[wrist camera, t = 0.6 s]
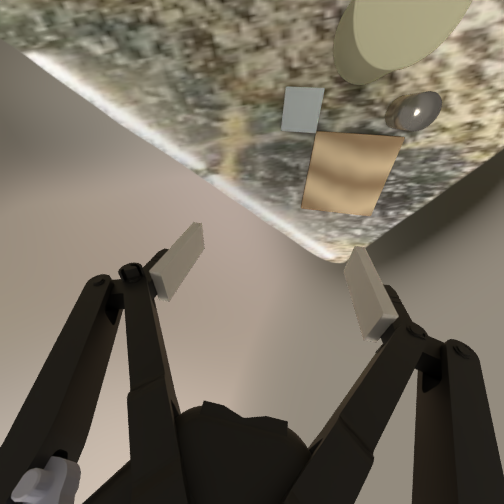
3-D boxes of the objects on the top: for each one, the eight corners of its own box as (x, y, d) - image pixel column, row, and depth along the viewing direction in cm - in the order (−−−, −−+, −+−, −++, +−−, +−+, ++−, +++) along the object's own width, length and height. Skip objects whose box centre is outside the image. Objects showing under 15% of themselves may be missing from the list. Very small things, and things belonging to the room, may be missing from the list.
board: (316, 130, 32) (317, 131, 31) (401, 136, 30) (405, 137, 29) (301, 206, 40) (301, 208, 39) (368, 213, 38) (370, 216, 37)
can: (431, -16, 22) (535, -113, 13) (388, 89, 28) (437, 76, 18) (349, -23, 23) (388, -121, 13) (323, 80, 28) (337, 63, 19)
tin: (392, 94, 28) (412, 90, 23) (422, 95, 27) (449, 92, 23) (380, 127, 30) (396, 130, 25) (408, 129, 30) (429, 132, 25)
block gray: (287, 90, 30) (285, 86, 26) (320, 91, 29) (324, 88, 25) (282, 128, 33) (280, 130, 29) (313, 130, 32) (315, 133, 28)
